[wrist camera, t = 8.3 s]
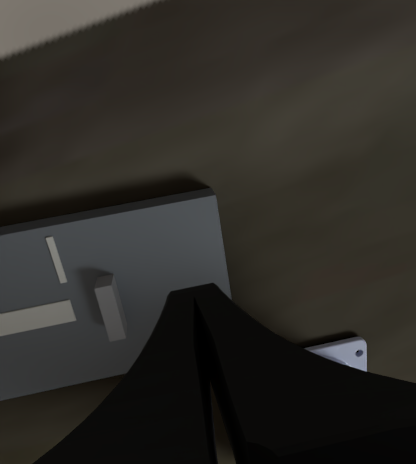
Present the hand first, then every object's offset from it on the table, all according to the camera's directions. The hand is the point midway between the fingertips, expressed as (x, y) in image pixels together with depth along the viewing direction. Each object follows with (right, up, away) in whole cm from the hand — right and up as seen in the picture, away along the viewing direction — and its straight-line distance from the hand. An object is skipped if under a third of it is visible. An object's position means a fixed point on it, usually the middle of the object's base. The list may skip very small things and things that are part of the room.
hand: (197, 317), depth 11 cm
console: (-10, -2, +10) cm, 14 cm away
